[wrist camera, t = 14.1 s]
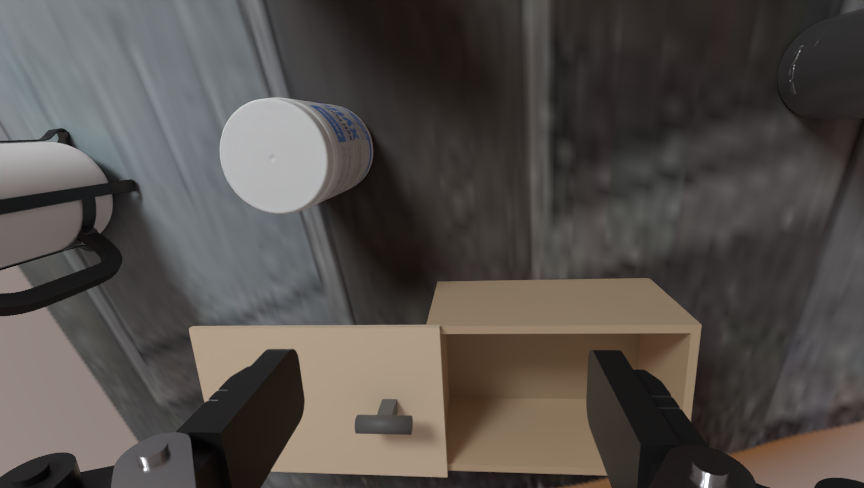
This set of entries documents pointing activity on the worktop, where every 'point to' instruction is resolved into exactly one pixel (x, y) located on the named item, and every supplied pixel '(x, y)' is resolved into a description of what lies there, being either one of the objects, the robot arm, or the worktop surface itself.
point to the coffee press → (53, 216)
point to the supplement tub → (293, 153)
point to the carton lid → (347, 393)
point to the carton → (548, 365)
